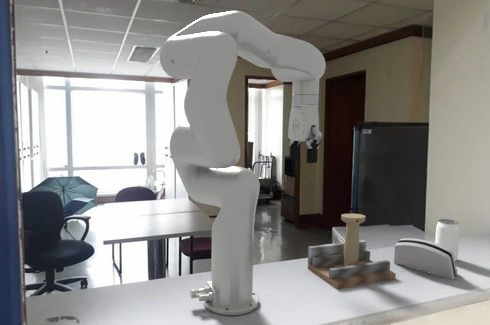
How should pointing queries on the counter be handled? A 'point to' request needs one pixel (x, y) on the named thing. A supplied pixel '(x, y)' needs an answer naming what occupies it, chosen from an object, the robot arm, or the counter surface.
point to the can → (448, 235)
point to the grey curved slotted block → (425, 257)
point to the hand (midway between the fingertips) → (302, 160)
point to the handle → (352, 237)
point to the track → (339, 276)
